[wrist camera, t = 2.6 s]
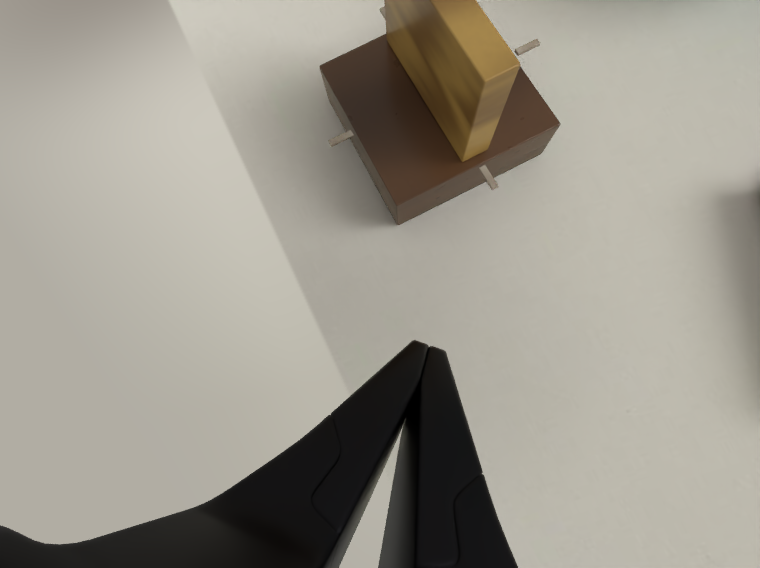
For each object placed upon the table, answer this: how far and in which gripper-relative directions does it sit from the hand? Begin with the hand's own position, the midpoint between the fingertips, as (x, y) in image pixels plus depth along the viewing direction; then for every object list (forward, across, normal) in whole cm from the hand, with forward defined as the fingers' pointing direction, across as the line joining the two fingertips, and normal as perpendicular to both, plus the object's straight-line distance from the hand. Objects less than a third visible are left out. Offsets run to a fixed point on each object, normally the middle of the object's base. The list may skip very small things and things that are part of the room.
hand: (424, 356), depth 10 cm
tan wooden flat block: (+17, +4, -4) cm, 17 cm away
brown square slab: (+19, +4, -2) cm, 19 cm away
